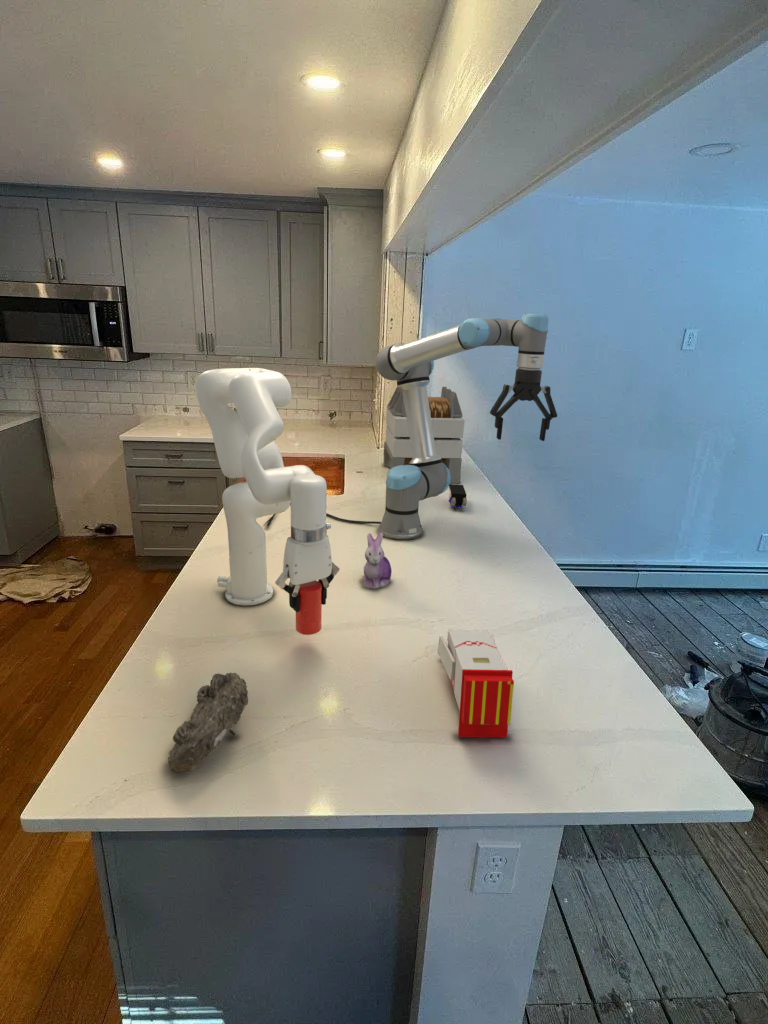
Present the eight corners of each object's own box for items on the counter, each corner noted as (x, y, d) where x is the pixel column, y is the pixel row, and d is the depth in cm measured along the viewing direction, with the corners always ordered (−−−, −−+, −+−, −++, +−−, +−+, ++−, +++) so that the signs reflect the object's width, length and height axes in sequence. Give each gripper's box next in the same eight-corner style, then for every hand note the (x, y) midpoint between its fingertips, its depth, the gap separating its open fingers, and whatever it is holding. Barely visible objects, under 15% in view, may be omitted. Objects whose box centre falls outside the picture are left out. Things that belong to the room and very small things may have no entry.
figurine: (369, 592, 157) (371, 543, 152) (354, 577, 166) (355, 529, 161) (399, 586, 162) (402, 538, 157) (383, 572, 170) (385, 525, 165)
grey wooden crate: (382, 463, 289) (386, 382, 275) (445, 464, 293) (451, 384, 279) (390, 482, 257) (394, 392, 243) (460, 483, 261) (468, 394, 247)
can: (300, 619, 133) (300, 577, 129) (324, 623, 132) (325, 581, 128) (291, 632, 128) (291, 589, 124) (316, 636, 127) (317, 593, 123)
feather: (284, 506, 225) (286, 502, 224) (266, 530, 198) (268, 525, 198) (280, 504, 225) (282, 500, 224) (261, 527, 198) (264, 523, 197)
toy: (488, 613, 130) (523, 677, 101) (484, 667, 133) (517, 744, 104) (435, 612, 130) (455, 676, 101) (432, 666, 133) (451, 743, 103)
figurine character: (467, 515, 225) (461, 499, 238) (469, 498, 221) (463, 482, 235) (450, 514, 224) (445, 498, 238) (452, 497, 221) (447, 482, 234)
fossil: (194, 673, 113) (248, 641, 108) (227, 704, 116) (281, 674, 111) (142, 765, 94) (204, 730, 89) (183, 800, 97) (246, 768, 92)
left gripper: (334, 519, 129) (333, 589, 136) (263, 533, 120) (265, 608, 126) (351, 530, 124) (349, 603, 130) (278, 545, 114) (280, 623, 120)
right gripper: (490, 368, 163) (483, 440, 170) (575, 371, 165) (564, 443, 172) (484, 365, 170) (477, 435, 178) (565, 369, 172) (555, 437, 179)
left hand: (308, 605), depth 128 cm, fingers closed on can, 5 cm apart
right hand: (520, 439), depth 175 cm, fingers open, 13 cm apart
